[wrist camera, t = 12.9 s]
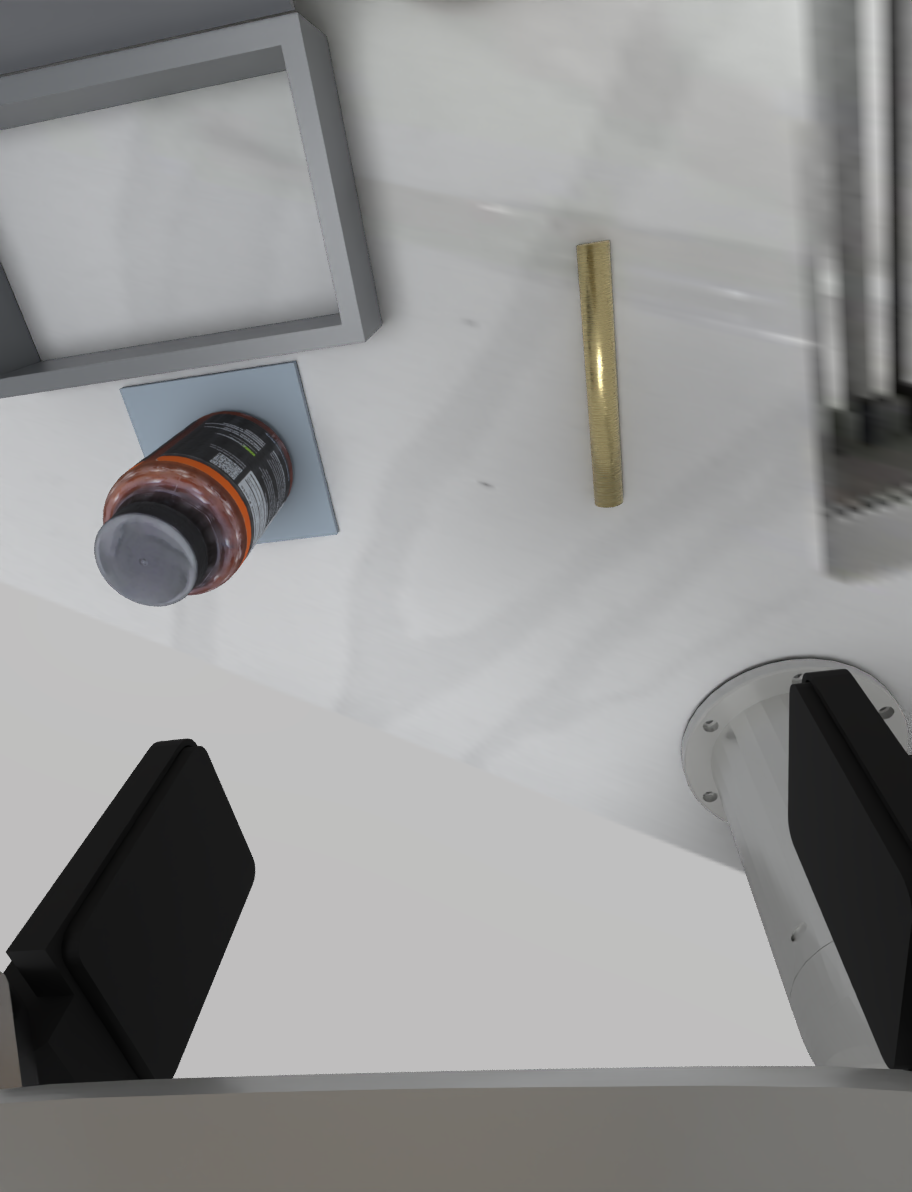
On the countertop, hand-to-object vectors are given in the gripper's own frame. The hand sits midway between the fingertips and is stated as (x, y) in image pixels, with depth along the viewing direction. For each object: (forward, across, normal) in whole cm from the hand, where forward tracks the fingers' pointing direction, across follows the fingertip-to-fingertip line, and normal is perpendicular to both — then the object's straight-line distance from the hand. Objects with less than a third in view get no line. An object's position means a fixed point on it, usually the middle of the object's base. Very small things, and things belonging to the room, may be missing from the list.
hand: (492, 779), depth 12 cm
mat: (+27, +15, +1) cm, 31 cm away
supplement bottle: (+27, +14, +1) cm, 30 cm away
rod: (+26, -4, 0) cm, 26 cm away
